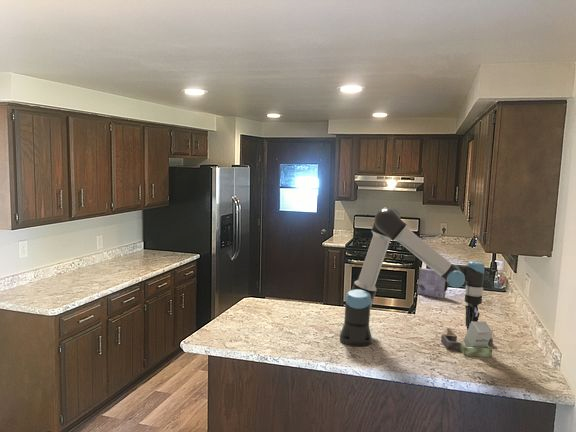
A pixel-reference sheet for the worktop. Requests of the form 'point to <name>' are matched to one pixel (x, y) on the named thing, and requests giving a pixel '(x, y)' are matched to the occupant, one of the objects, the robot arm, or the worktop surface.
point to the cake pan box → (431, 284)
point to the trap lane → (452, 344)
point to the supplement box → (478, 335)
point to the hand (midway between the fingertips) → (469, 343)
